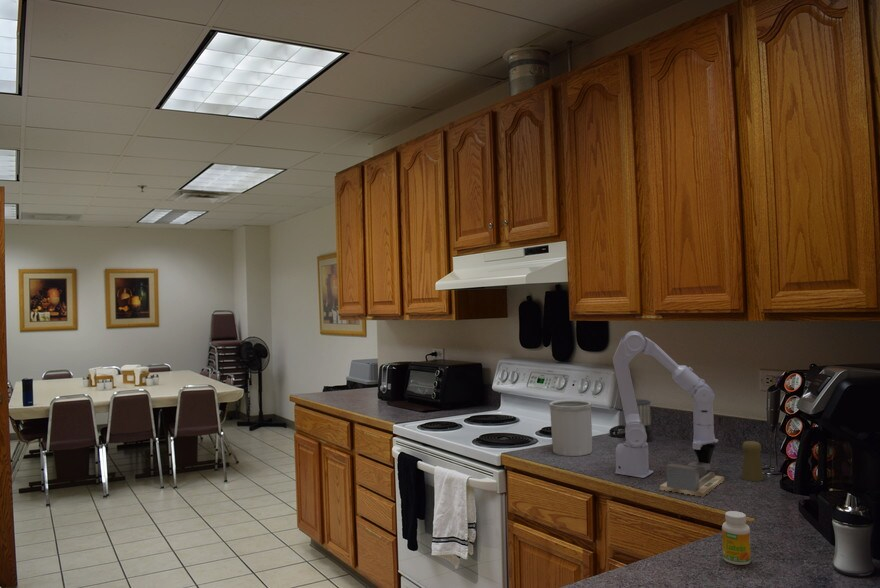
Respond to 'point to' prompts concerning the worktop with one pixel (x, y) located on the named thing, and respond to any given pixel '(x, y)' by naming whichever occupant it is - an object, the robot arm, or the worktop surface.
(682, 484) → the grey box
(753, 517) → the worktop surface
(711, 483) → the gauge board
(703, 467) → the gauge carriage
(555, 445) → the utensil holder
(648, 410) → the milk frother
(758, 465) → the cork
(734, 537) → the supplement bottle
